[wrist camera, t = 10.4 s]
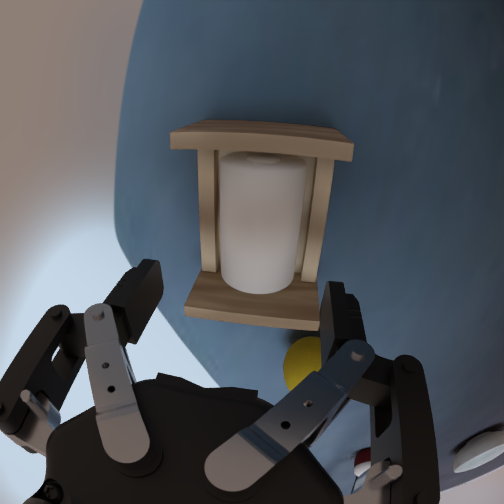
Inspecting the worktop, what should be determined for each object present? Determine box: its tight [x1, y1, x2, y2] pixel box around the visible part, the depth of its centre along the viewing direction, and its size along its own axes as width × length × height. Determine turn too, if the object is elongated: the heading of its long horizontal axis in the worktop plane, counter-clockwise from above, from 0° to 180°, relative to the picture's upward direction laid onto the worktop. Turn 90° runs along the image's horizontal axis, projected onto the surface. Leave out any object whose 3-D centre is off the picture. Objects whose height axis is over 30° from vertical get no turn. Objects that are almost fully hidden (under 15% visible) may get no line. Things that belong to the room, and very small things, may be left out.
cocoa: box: [351, 448, 371, 493], centre depth 42 cm, size 10×6×12 cm, turn 113°
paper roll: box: [220, 151, 307, 294], centre depth 21 cm, size 9×6×6 cm
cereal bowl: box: [453, 431, 504, 473], centre depth 44 cm, size 17×17×7 cm
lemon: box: [283, 336, 321, 391], centre depth 28 cm, size 6×6×8 cm
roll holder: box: [170, 120, 354, 331], centre depth 21 cm, size 13×10×7 cm
